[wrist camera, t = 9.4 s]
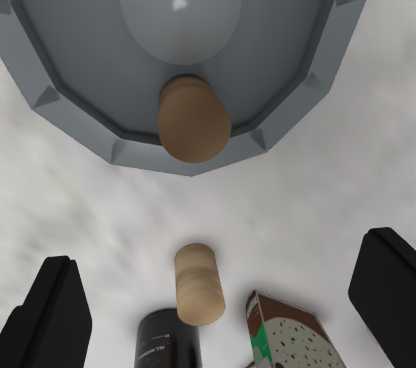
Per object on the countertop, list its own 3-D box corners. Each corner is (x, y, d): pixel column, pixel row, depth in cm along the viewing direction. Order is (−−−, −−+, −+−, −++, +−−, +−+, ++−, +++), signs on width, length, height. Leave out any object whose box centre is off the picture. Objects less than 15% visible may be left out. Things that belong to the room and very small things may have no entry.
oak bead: (222, 256, 31) (235, 305, 26) (196, 280, 32) (202, 331, 27) (193, 237, 29) (200, 284, 24) (166, 262, 30) (167, 313, 25)
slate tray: (408, -3, 22) (438, -6, 19) (191, 209, 28) (194, 227, 25) (152, -465, 12) (149, -577, 10) (-92, 8, 18) (-128, 7, 16)
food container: (212, 320, 35) (229, 420, 27) (244, 285, 33) (273, 380, 25) (291, 346, 40) (328, 439, 31) (323, 316, 38) (372, 407, 29)
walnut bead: (226, 100, 22) (246, 126, 17) (189, 140, 23) (197, 176, 18) (184, 60, 21) (192, 75, 15) (147, 105, 22) (142, 133, 17)
